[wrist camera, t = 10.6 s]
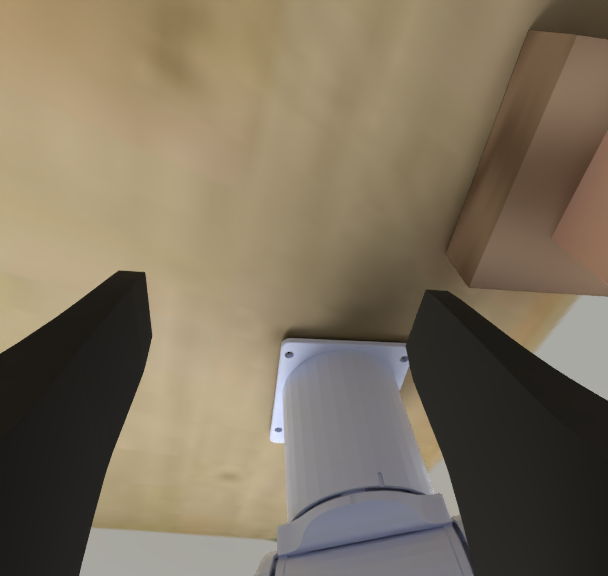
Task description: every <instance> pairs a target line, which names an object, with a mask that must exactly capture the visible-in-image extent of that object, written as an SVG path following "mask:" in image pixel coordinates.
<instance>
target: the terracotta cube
mask: <svg viewBox="0 0 608 576" xmlns="http://www.w3.org/2000/svg"><path fill="white" fill-rule="evenodd" d="M551 239H553V240H554V241H555V242H556V243H557V244H559V245H560V246H561V247H562V248H563V249H565V250H566V251H567V252H568V253H570V254H571V255H572V256H573V257H574V258H576V259H577V260H578V261H579V262H580V263H582V264H583V265H584V266H585V267H587V268H588V269H589V270H590V271H591V272H593V273H594V274H595V275H596V276H597V277H599V278H600V279H601V280H602V281H604V282H605V283H606V284H607V285H608V130H607V132H606V134H605V136H604V138H603V140H602V142H601V144H600V145H599V147H598V149H597V151H596V153H595V155H594V157H593V159H592V161H591V163H590V165H589V167H588V168H587V170H586V172H585V174H584V176H583V178H582V180H581V182H580V184H579V186H578V188H577V190H576V191H575V193H574V195H573V197H572V199H571V201H570V203H569V205H568V207H567V209H566V211H565V212H564V214H563V216H562V218H561V220H560V222H559V224H558V226H557V228H556V230H555V232H554V234H553V235H552V237H551Z"/></svg>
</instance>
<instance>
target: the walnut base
mask: <svg viewBox="0 0 608 576" xmlns="http://www.w3.org/2000/svg"><path fill="white" fill-rule="evenodd" d="M607 130H608V40H607V39H601V38H594V37H588V36H582V35H574V34H564V33H554V32H544V31H534V30H528V33H527V36H526V39H525V41H524V44H523V47H522V49H521V52H520V55H519V57H518V60H517V63H516V66H515V68H514V71H513V74H512V76H511V79H510V82H509V84H508V87H507V90H506V93H505V95H504V98H503V101H502V103H501V106H500V109H499V112H498V114H497V117H496V120H495V122H494V125H493V128H492V130H491V133H490V136H489V139H488V141H487V144H486V147H485V149H484V152H483V155H482V157H481V160H480V163H479V166H478V168H477V171H476V174H475V176H474V179H473V182H472V185H471V187H470V190H469V193H468V195H467V198H466V201H465V203H464V206H463V209H462V212H461V214H460V217H459V220H458V222H457V225H456V228H455V230H454V233H453V236H452V239H451V241H450V244H449V247H448V249H447V252H446V256H447V258H448V259H449V261H450V262H451V263H452V265H453V266H454V268H455V269H456V270H457V272H458V273H459V275H460V276H461V277H462V279H463V280H464V282H465V283H466V284H467V286H468V287H469V288H482V289H498V290H514V291H529V292H545V293H561V294H576V295H592V296H607V297H608V285H607V284H606V283H605V282H604V281H602V280H601V279H600V278H599V277H597V276H596V275H595V274H594V273H593V272H591V271H590V270H589V269H588V268H587V267H585V266H584V265H583V264H582V263H580V262H579V261H578V260H577V259H576V258H574V257H573V256H572V255H571V254H570V253H568V252H567V251H566V250H565V249H563V248H562V247H561V246H560V245H559V244H557V243H556V242H555V241H554V240H553V239H551V237H552V235H553V234H554V232H555V230H556V228H557V226H558V224H559V222H560V220H561V218H562V216H563V214H564V212H565V211H566V209H567V207H568V205H569V203H570V201H571V199H572V197H573V195H574V193H575V191H576V190H577V188H578V186H579V184H580V182H581V180H582V178H583V176H584V174H585V172H586V170H587V168H588V167H589V165H590V163H591V161H592V159H593V157H594V155H595V153H596V151H597V149H598V147H599V145H600V144H601V142H602V140H603V138H604V136H605V134H606V132H607Z"/></svg>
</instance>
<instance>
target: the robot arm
mask: <svg viewBox="0 0 608 576" xmlns="http://www.w3.org/2000/svg"><path fill="white" fill-rule="evenodd" d="M151 339H152V329H151V320H150V311H149V302H148V293H147V284H146V275H145V272H133V271H118V272H116V273H115V274H113V275H112V276H111V277H109V278H108V279H107V280H105V281H104V282H103V283H101V284H100V285H99V286H98V287H96V288H95V289H94V290H92V291H91V292H90V293H88V294H87V295H86V296H85V297H83V298H82V299H80V300H79V301H78V302H76V303H75V304H74V305H72V306H71V307H70V308H68V309H67V310H66V311H64V312H63V313H61V314H60V315H59V316H57V317H56V318H54V319H53V320H51V321H50V322H48V323H47V324H45V325H44V326H42V327H41V328H39V329H38V330H36V331H35V332H33V333H32V334H30V335H29V336H27V337H26V338H24V339H23V340H21V341H20V342H18V343H17V344H15V345H14V346H12V347H10V348H9V349H7V350H6V351H4V352H2V353H0V576H79V573H80V569H81V565H82V561H83V557H84V553H85V549H86V545H87V541H88V537H89V533H90V530H91V526H92V522H93V518H94V514H95V510H96V507H97V503H98V499H99V496H100V492H101V488H102V485H103V481H104V477H105V474H106V471H107V468H108V465H109V462H110V459H111V456H112V453H113V450H114V448H115V445H116V442H117V440H118V437H119V435H120V432H121V430H122V427H123V424H124V422H125V419H126V417H127V414H128V412H129V409H130V406H131V404H132V401H133V399H134V396H135V393H136V391H137V388H138V386H139V383H140V380H141V378H142V375H143V372H144V369H145V365H146V361H147V357H148V352H149V348H150V344H151ZM286 352H292V353H286ZM403 356H405V357H404V358H401V357H403ZM409 365H410V369H411V373H412V377H413V380H414V383H415V386H416V389H417V391H418V394H419V396H420V399H421V401H422V404H423V407H424V409H425V412H426V414H427V417H428V419H429V422H430V424H431V427H432V429H433V432H434V434H435V437H436V439H437V442H438V444H439V447H440V449H441V452H442V455H443V457H444V460H445V463H446V466H447V469H448V472H449V475H450V479H451V483H452V486H453V490H454V493H455V497H456V500H457V504H458V507H459V511H460V515H458V516H453V517H452V518H450V516H449V513H448V510H447V507H446V504H445V501H444V499H443V496H442V494H440V493H438V494H435V493H434V491H433V487H432V485H431V482H430V479H429V476H428V473H427V470H426V467H425V464H424V461H423V458H422V455H421V453H420V450H419V447H418V444H417V441H416V438H415V435H414V432H413V429H412V426H411V423H410V420H409V418H408V415H407V412H406V409H405V406H404V403H403V400H402V397H401V394H400V389H401V386H402V384H403V381H404V379H405V376H406V373H407V371H408V368H409ZM270 440H271V441H272V442H274V443H284V446H285V470H286V495H287V519H288V523H287V524H283V525H279V526H278V527H277V546H278V551H274V552H270V553H268V554H266V555H265V556H264V557H263V559H262V561H261V563H260V565H259V567H258V570H257V571H256V573H255V575H254V576H608V401H607V400H606V399H604V398H602V397H600V396H599V395H597V394H595V393H593V392H592V391H590V390H588V389H587V388H585V387H583V386H582V385H580V384H578V383H577V382H575V381H573V380H572V379H570V378H568V377H567V376H565V375H564V374H562V373H561V372H559V371H558V370H556V369H554V368H553V367H551V366H550V365H548V364H547V363H546V362H544V361H543V360H541V359H540V358H538V357H537V356H535V355H534V354H533V353H531V352H530V351H528V350H527V349H526V348H524V347H523V346H521V345H520V344H519V343H517V342H516V341H514V340H513V339H512V338H510V337H509V336H508V335H506V334H505V333H504V332H502V331H501V330H500V329H498V328H497V327H496V326H495V325H493V324H492V323H491V322H489V321H488V320H487V319H485V318H484V317H483V316H482V315H480V314H479V313H478V312H476V311H475V310H474V309H472V308H471V307H470V306H468V305H467V304H466V303H464V302H463V301H462V300H460V299H459V298H457V297H456V296H454V295H453V294H451V293H450V292H448V291H439V290H426V291H425V293H424V296H423V299H422V302H421V305H420V307H419V310H418V313H417V316H416V319H415V321H414V324H413V327H412V330H411V332H410V335H409V338H408V341H407V343H393V342H370V341H347V340H324V339H302V338H287V339H285V340H283V341H282V344H281V350H280V358H279V366H278V374H277V382H276V390H275V398H274V406H273V414H272V421H271V429H270Z"/></svg>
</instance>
